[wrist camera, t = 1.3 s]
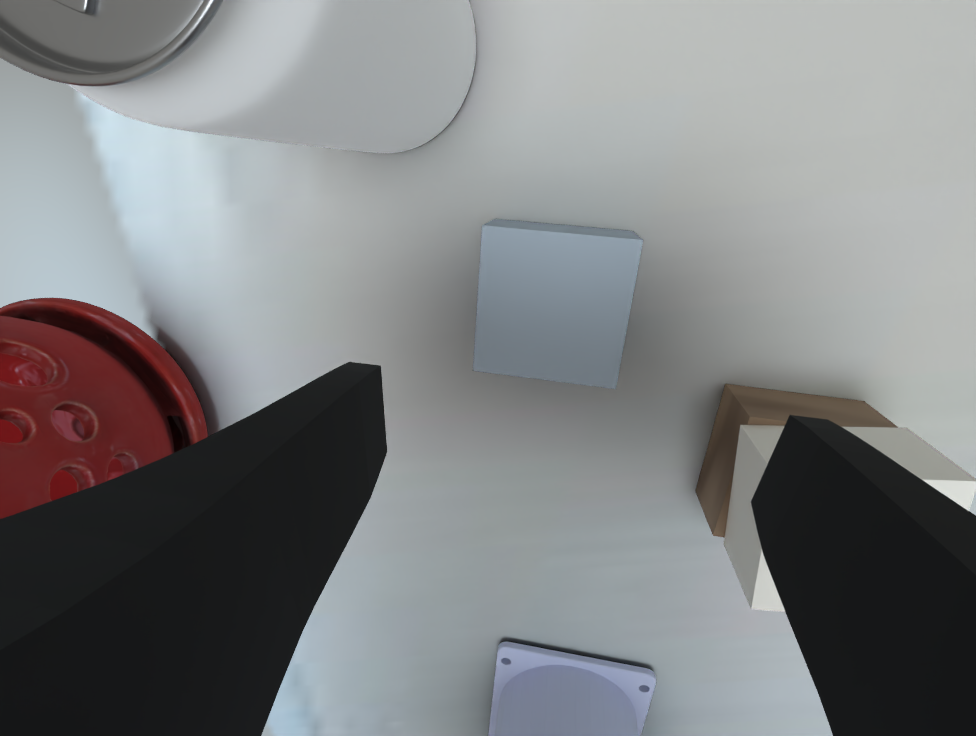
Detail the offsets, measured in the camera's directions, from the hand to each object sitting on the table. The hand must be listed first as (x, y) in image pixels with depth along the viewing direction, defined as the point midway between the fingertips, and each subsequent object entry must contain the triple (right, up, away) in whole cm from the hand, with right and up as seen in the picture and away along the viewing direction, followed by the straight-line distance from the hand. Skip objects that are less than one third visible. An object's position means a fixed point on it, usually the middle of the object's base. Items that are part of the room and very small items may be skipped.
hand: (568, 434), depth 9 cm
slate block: (+1, +4, +10) cm, 11 cm away
